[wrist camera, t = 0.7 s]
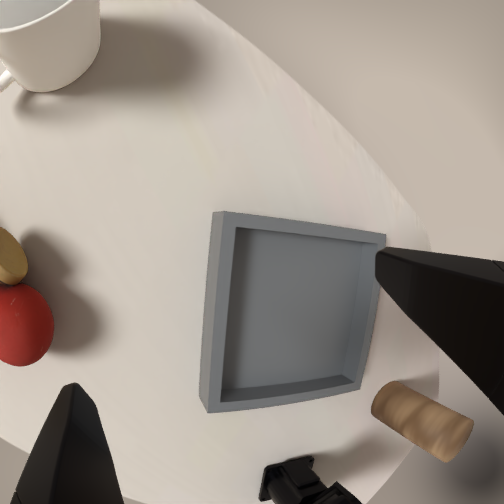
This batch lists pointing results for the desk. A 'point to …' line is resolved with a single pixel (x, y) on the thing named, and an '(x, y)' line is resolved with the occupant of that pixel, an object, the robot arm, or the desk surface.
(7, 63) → the cup
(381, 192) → the desk surface
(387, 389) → the wooden cylinder
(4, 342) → the kendama
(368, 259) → the tray
